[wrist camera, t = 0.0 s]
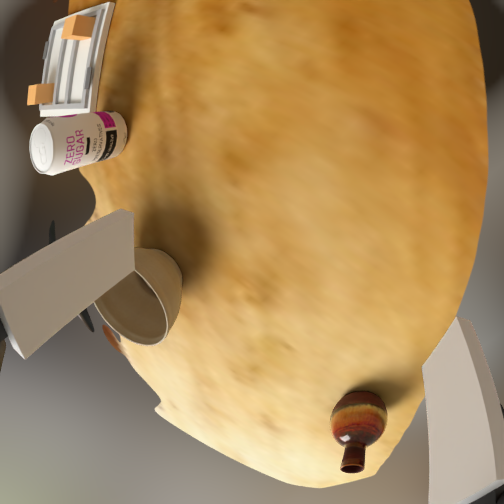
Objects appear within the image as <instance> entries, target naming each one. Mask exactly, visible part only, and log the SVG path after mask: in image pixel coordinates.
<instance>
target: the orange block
mask: <svg viewBox="0 0 504 504" xmlns="http://www.w3.org/2000/svg"><path fill="white" fill-rule="evenodd" d="M95 20H96V18H93V17H88V16H83V15H74V16H71V17H69V18H66V19H65V23H64V27H63V31H62V36H61V39H70V40H80V41H81V40H85V39H89V38H92V33H93V29H94V24H95Z"/></svg>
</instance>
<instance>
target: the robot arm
mask: <svg viewBox="0 0 504 504" xmlns="http://www.w3.org/2000/svg"><path fill="white" fill-rule="evenodd" d="M134 270H135V263H134V213H133V212H130V211H126V210H123V209H119V210H117V211H114V212H112V213H110V214H108V215H106V216H104V217H102V218H100V219H98V220H96V221H94V222H92V223H90V224H88V225H86V226H84V227H82V228H80V229H78V230H76V231H74V232H72V233H70V234H68V235H66V236H65V237H63V238H61V239H59V240H57V241H55V242H54V243H52V244H50V245H48V246H46V247H45V248H43V249H41V250H39V251H37V252H35V253H33V254H31V255H30V256H28V257H26V258H25V259H24V260H21V261H20V262H18V263H16V264H15V265H13V266H11V267H10V268H8V269H6V270H5V271H3V272H2V273H0V371H1V366H2V361H3V357H4V353H5V349H6V343H5V340H4V339H5V338H6V337H7V336H8V337H9V339H10V342H11V343H12V345H13V348H14V349H15V350H16V351H17V352H18V353H19V354H20V355H21V356H22V357H23V358H24V359H27V357H29V356H30V355H31V354H32V353H33V352H34V351H36V350H37V349H38V348H39V347H40V346H41V345H42V344H44V343H45V342H46V341H47V340H48V339H49V338H50V337H52V336H53V335H54V334H55V333H56V332H58V331H59V330H60V329H61V328H62V327H64V326H65V325H66V324H67V323H68V322H70V321H71V320H72V319H73V318H74V317H76V316H77V315H78V314H79V313H80V312H82V311H83V310H84V309H85V308H87V307H88V306H89V305H90V304H92V303H93V302H94V301H95V300H97V299H98V298H99V297H100V296H102V295H103V294H104V293H105V292H107V291H108V290H109V289H110V288H112V287H113V286H114V285H116V284H117V283H118V282H119V281H121V280H122V279H123V278H125V277H126V276H127V275H129V274H130V273H131V272H133V271H134ZM422 373H423V380H424V388H425V397H426V406H427V418H428V433H429V465H430V471H429V473H430V474H429V501H428V504H504V409H503V407H502V405H501V404H500V403H499V399H498V395H497V392H496V389H495V385H494V382H493V379H492V376H491V373H490V370H489V367H488V364H487V361H486V358H485V356H484V353H483V350H482V348H481V345H480V343H479V340H478V338H477V335H476V333H475V330H474V328H473V326H472V323H471V321H470V320H466V319H463V318H460V317H457V316H456V317H455V319H454V321H453V322H452V324H451V325H450V327H449V329H448V330H447V332H446V333H445V335H444V336H443V338H442V339H441V341H440V342H439V344H438V345H437V346H436V348H435V349H434V351H433V352H432V353H431V355H430V356H429V358H428V359H427V360H426V362H425V363H424V364H423V366H422Z"/></svg>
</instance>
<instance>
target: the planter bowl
mask: <svg viewBox="0 0 504 504" xmlns="http://www.w3.org/2000/svg"><path fill="white" fill-rule="evenodd" d="M134 263H135V270H134V271H133V272H131V273H130V274H129V275H127V276H126V277H125V278H123V279H122V280H121V281H119V282H118V283H117V284H116V285H114V286H113V287H112V288H110V289H109V290H108V291H107V292H105V293H104V294H103V295H102V296H100V297H99V298H98V299H97V300H95V301H94V304H95V306H96V308H97V309H98V311H99V313H100V314H101V316H102V317H103V319H104V320H105V321H106V322H107V323H108V324H109V325H110V327H111V328H113V329H114V330H115V331H116V332H117V333H118V334H120V335H121V336H123V337H124V338H126V339H127V340H129V341H131V342H133V343H136V344H139V345H143V346H153V345H157V344H159V343H161V342H162V341H163V340H164V339H165V338H166V336H167V335H168V332H169V330H170V329H171V327H172V326H173V324H174V322H175V320H176V318H177V315H178V313H179V309H180V305H181V296H182V291H181V287H182V282H183V281H182V274H181V271H180V269H179V267H178V265H177V263H176V262H175V261H174V260H173V258H172V257H170V256H169V255H168V254H167V253H165V252H163V251H161V250H158V249H145V248H134Z"/></svg>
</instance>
